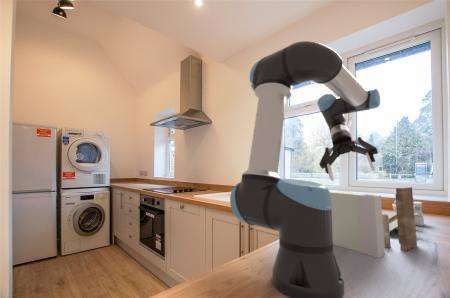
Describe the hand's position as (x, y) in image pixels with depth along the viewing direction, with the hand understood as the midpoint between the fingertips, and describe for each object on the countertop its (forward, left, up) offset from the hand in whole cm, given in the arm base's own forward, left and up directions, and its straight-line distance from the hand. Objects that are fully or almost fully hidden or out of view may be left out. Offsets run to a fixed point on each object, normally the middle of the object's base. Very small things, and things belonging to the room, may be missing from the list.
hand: (351, 173), depth 79 cm
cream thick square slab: (-3, -2, -25) cm, 25 cm away
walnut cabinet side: (+14, -4, -25) cm, 29 cm away
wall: (+29, +11, -25) cm, 40 cm away
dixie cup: (+43, +15, -25) cm, 52 cm away
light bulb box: (+53, +20, -25) cm, 62 cm away
